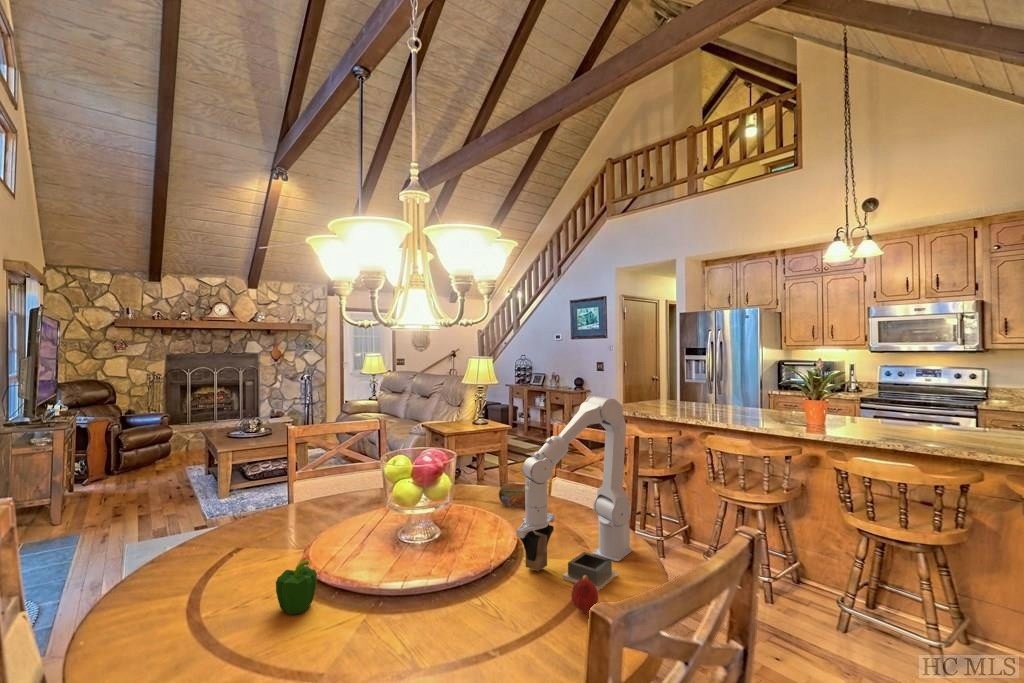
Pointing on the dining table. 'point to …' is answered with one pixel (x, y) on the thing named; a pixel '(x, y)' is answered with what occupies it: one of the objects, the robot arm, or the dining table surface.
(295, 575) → the bell pepper
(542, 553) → the rail post
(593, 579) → the grey square socket
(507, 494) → the tin
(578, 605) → the onion
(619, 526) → the robot arm
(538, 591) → the dining table surface
